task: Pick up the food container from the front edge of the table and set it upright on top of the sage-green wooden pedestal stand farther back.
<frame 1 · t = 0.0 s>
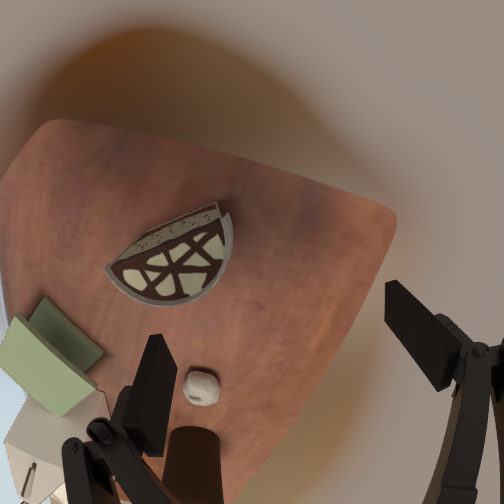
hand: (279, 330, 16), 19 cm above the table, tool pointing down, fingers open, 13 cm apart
gable box: (83, 417, 44), on the table
garlic: (202, 377, 41), on the table
stand: (58, 343, 37), on the table
food container: (189, 240, 34), on the table
olive oil: (194, 438, 47), on the table
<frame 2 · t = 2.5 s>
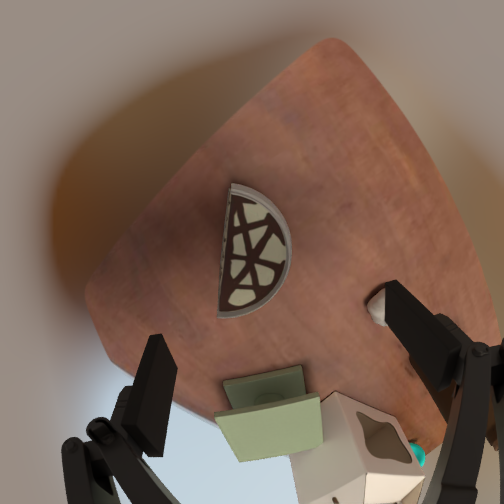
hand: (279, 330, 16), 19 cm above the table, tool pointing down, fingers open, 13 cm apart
gable box: (344, 424, 50), on the table
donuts: (397, 450, 59), on the table
garlic: (380, 298, 39), on the table
stand: (268, 397, 44), on the table
food container: (250, 229, 34), on the table
olive oil: (429, 346, 44), on the table
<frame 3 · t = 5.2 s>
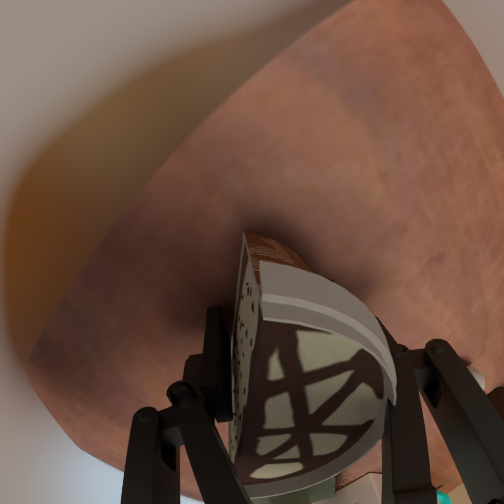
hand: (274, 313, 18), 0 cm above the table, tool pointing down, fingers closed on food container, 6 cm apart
gable box: (372, 492, 33), on the table
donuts: (420, 497, 42), on the table
garlic: (448, 376, 23), on the table
stand: (286, 487, 28), on the table
food container: (284, 306, 18), on the table, touching gripper
olive oil: (482, 409, 28), on the table
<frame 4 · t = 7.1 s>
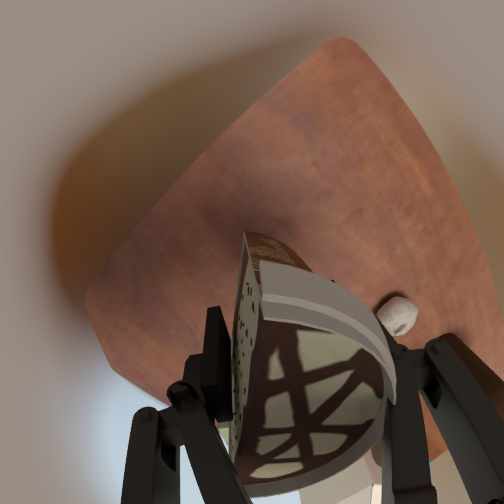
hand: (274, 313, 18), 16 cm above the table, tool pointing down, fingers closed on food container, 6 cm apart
gable box: (350, 433, 48), on the table
garlic: (389, 307, 38), on the table
food container: (284, 306, 18), point 15 cm above the table, touching gripper
olive oil: (437, 354, 42), on the table
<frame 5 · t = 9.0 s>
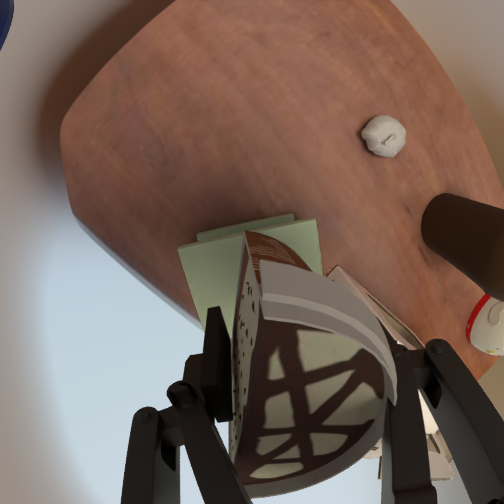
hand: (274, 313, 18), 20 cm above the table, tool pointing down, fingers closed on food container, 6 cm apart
gable box: (351, 331, 44), on the table
garlic: (375, 136, 34), on the table
kitchen timer: (486, 315, 47), on the table
stand: (253, 266, 39), on the table
food container: (284, 306, 18), point 20 cm above the table, touching gripper
olive oil: (442, 222, 39), on the table
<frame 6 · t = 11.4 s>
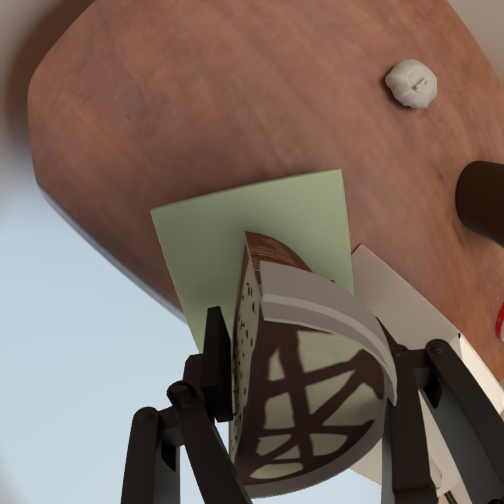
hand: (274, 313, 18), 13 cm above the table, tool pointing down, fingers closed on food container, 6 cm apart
gable box: (376, 328, 35), on the table
garlic: (400, 86, 25), on the table
stand: (256, 243, 30), on the table
food container: (284, 306, 18), point 13 cm above the table, touching gripper
olive oil: (476, 195, 30), on the table
when the fingers open (8 cm above the table, at t = 13.2 s): food container stays where it is, resting on stand.
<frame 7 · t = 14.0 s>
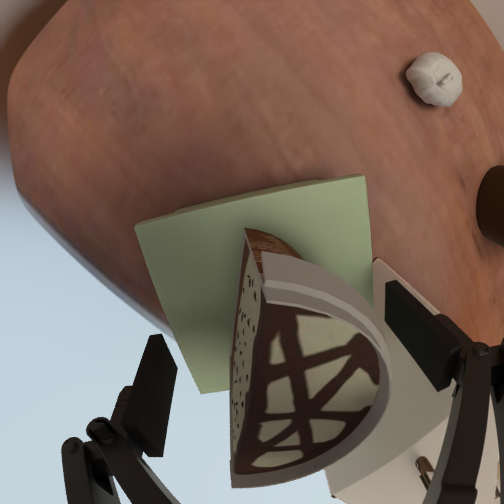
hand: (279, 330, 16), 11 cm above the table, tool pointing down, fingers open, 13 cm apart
gable box: (389, 346, 32), on the table
garlic: (421, 82, 21), on the table
stand: (260, 258, 26), on the table
food container: (282, 301, 19), point 8 cm above the table, touching stand
olive oil: (496, 203, 26), on the table
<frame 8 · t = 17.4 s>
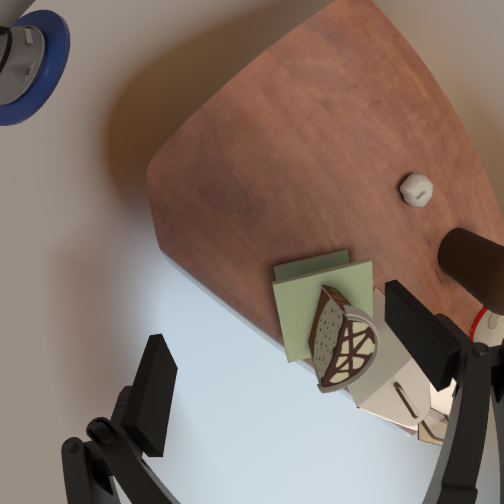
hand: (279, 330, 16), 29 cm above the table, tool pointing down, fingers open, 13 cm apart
gable box: (382, 337, 54), on the table
garlic: (409, 187, 43), on the table
kitchen timer: (487, 320, 56), on the table
stand: (314, 290, 48), on the table
food container: (333, 314, 41), point 8 cm above the table, touching stand
olive oil: (453, 250, 48), on the table
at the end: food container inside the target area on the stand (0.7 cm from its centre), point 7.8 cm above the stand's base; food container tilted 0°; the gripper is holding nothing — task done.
